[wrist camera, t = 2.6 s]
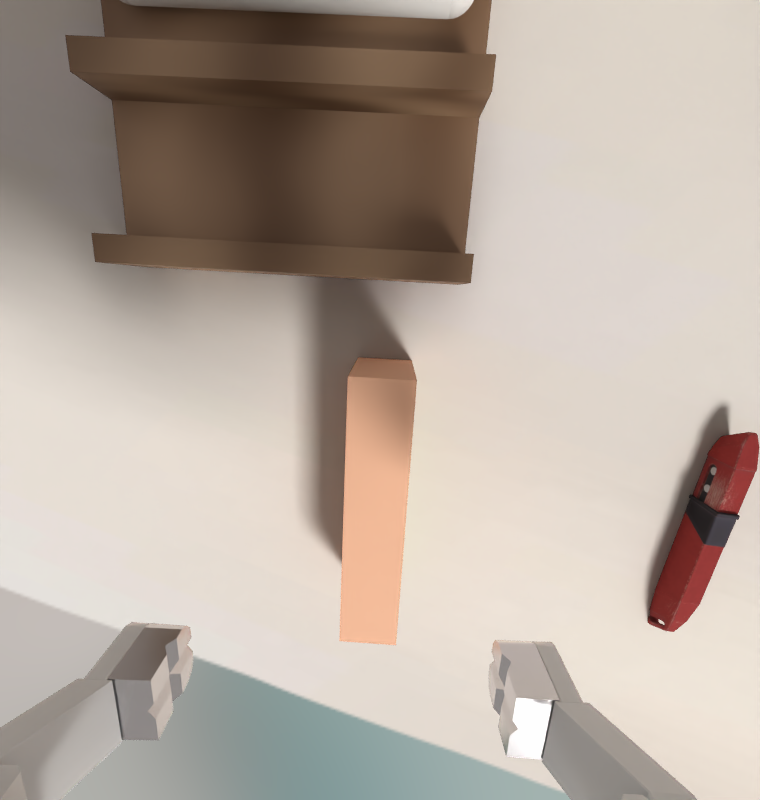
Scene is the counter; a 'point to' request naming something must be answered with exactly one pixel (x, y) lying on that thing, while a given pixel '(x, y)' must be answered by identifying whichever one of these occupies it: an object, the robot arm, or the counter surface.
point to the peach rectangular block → (375, 496)
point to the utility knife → (704, 529)
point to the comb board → (292, 139)
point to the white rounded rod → (328, 6)
